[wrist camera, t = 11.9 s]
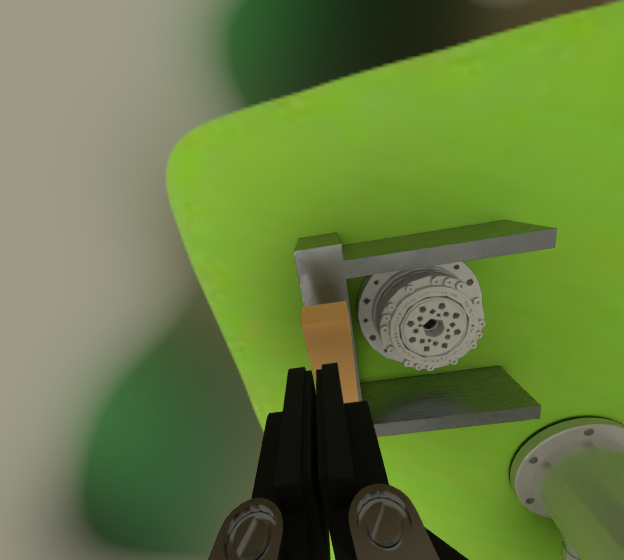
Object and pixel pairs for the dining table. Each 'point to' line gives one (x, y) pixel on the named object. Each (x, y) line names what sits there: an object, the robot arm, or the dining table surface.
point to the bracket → (437, 387)
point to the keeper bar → (331, 342)
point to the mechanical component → (422, 314)
